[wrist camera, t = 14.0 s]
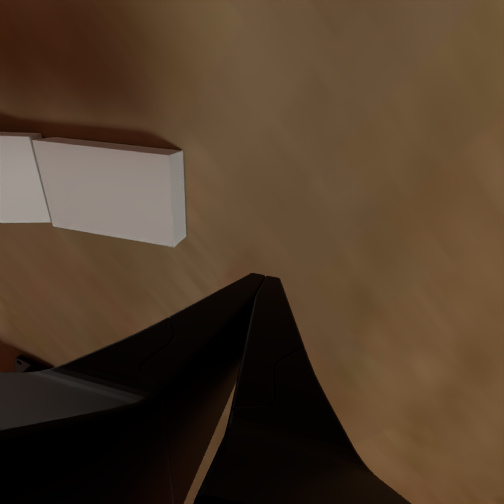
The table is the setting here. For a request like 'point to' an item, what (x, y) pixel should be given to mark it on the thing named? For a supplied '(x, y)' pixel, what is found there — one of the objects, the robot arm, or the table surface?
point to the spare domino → (114, 189)
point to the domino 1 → (21, 180)
